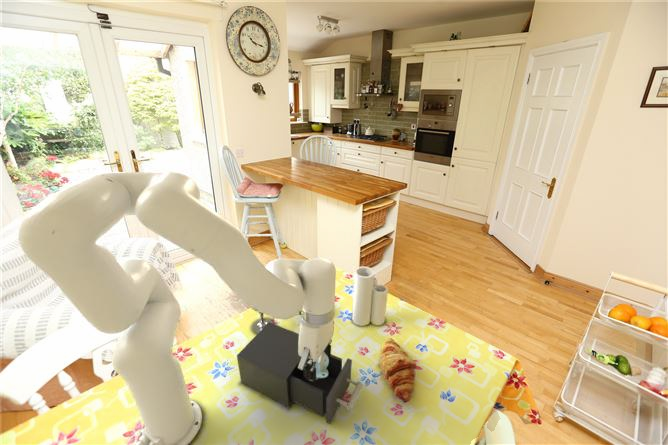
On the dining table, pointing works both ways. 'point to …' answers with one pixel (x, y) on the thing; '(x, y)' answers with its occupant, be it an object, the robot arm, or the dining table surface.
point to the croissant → (397, 369)
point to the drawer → (324, 389)
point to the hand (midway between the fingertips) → (317, 365)
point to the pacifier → (321, 366)
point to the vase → (368, 298)
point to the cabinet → (270, 362)
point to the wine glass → (260, 322)
